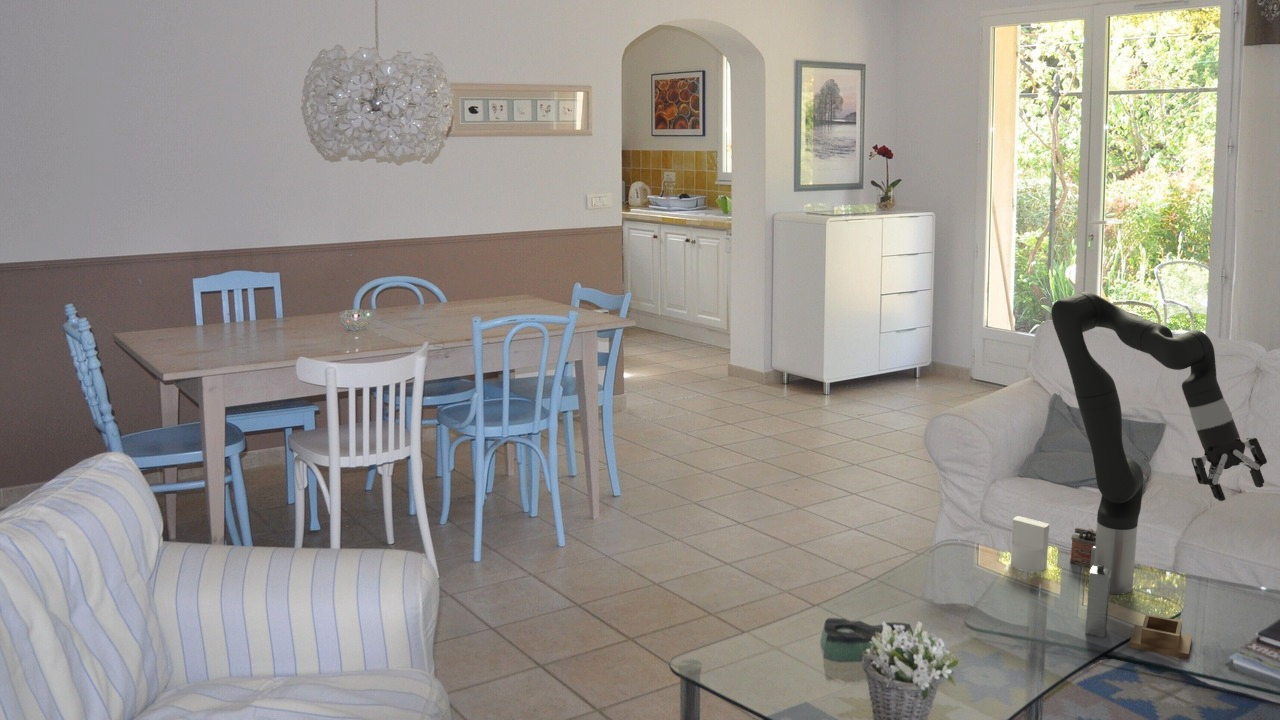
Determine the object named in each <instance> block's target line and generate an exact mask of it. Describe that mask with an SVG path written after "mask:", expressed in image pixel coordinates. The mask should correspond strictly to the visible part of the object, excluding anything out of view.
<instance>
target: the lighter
mask: <svg viewBox="0 0 1280 720" xmlns="http://www.w3.org/2000/svg"><path fill="white" fill-rule="evenodd" d="M1070 537H1071V539H1070V540H1071V550H1070V552H1071V554H1070V558H1069V563H1070V564H1071V565H1073V566H1077V567H1081V568H1084V569H1085V568H1087V569H1090V565H1091V551H1092V547H1094V546H1095V543H1096V530H1094V529H1092V528H1088V529H1085V528H1082V527H1078V526H1077V527H1075V528H1074V534H1071V536H1070Z"/></svg>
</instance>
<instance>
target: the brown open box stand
mask: <svg viewBox="0 0 1280 720" xmlns="http://www.w3.org/2000/svg"><path fill="white" fill-rule="evenodd" d="M1182 626H1183V620H1179V619H1174V618H1168V617H1164V616H1158V615H1153V614H1147V613H1146V614H1145V615H1144V619H1143V623H1142V625H1140V624H1139V625H1138V624H1134V626H1133V629H1132V633H1131V636H1130V639H1129V643H1128V644H1129V645H1128V647H1129V648H1132V649H1137V650H1143V651H1147V652H1153V653H1158V654H1162V655H1167V656H1172V657H1176V658H1183V659H1187V660H1188V659H1189V657H1190V656H1189V655H1190V652H1191V645H1192V640H1193V635H1191V634H1185V633H1182V631H1183V630H1182V629H1183V627H1182Z"/></svg>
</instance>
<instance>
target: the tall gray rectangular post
mask: <svg viewBox="0 0 1280 720" xmlns="http://www.w3.org/2000/svg"><path fill="white" fill-rule="evenodd" d="M1110 577H1111V569H1108V568H1104V565H1098V567H1097V566H1092V568H1091V571H1090V570H1089V576H1088V578H1089V579H1088V592H1087V593H1088V594H1087V603H1086V604H1087V606H1086V617H1085V618H1086V620H1085V634H1086V633H1087V634H1086V635H1089V634H1091V635H1090V636H1094V635H1095V637H1100V638H1105V635H1106V633H1107V629H1108V628H1107V627H1108V617H1109V616H1108V614H1109V602H1110V601H1109V600H1110V593H1109V590H1110Z"/></svg>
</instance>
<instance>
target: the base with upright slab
mask: <svg viewBox="0 0 1280 720" xmlns="http://www.w3.org/2000/svg"><path fill="white" fill-rule="evenodd" d="M1011 534H1012V535H1011V551H1010V552H1011V553H1010V554H1011V555H1010V564H1011V566H1012V567H1013V568H1016V569H1018V570H1021V571H1023V572H1024V571H1025V572H1041V571H1043V570H1046V568H1047V567H1048V555H1049V554H1048V550H1049V536H1050V523H1047V522H1045V521H1039V520H1036V519H1032V518H1028V517H1025V516H1020V515H1017V516H1015V517H1013V518H1012V531H1011Z"/></svg>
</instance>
